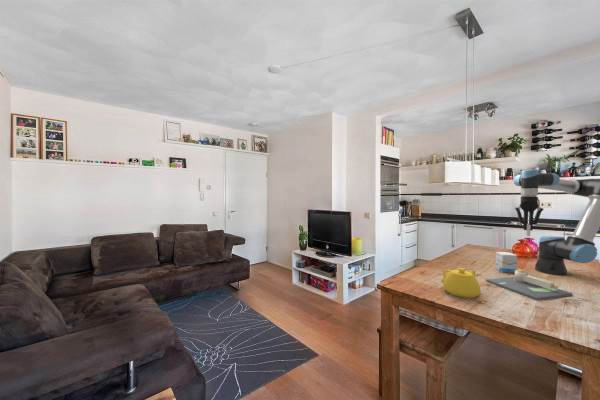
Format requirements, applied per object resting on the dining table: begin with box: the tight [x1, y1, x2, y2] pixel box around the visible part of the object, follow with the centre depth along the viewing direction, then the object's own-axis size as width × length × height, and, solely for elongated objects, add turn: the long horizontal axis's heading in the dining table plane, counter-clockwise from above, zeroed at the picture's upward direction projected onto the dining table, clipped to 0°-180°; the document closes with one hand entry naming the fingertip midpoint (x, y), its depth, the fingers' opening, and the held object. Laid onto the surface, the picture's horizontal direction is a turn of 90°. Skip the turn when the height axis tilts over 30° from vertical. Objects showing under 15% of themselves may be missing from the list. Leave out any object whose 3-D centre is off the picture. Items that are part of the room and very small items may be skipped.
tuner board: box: [485, 276, 573, 301], centre depth 140 cm, size 24×26×2 cm
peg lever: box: [514, 268, 559, 289], centre depth 139 cm, size 19×5×6 cm, turn 18°
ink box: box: [494, 251, 518, 274], centre depth 169 cm, size 8×8×12 cm
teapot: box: [441, 267, 482, 299], centre depth 135 cm, size 20×19×13 cm
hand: (527, 235), depth 151 cm, fingers closed
